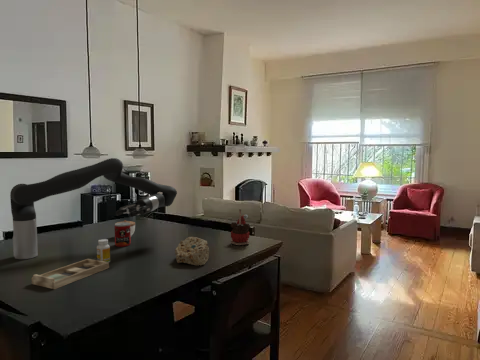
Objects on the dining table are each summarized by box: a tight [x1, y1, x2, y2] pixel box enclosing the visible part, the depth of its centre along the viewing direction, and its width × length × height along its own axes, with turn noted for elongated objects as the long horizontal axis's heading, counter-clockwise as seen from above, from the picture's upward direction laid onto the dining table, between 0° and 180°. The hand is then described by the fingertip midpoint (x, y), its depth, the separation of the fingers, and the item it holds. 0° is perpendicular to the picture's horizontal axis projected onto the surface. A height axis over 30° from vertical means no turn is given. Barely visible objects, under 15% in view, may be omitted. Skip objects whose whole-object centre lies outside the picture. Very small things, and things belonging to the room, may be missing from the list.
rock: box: [174, 236, 210, 266], centre depth 169 cm, size 21×14×10 cm
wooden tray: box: [31, 258, 110, 290], centre depth 147 cm, size 12×26×4 cm, turn 155°
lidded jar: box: [114, 219, 136, 237], centre depth 210 cm, size 11×11×9 cm
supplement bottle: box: [96, 238, 111, 263], centre depth 164 cm, size 5×5×10 cm
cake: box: [230, 208, 251, 246], centre depth 195 cm, size 11×9×18 cm
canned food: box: [114, 221, 132, 248], centre depth 193 cm, size 8×8×11 cm
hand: (123, 214), depth 172 cm, fingers open, 8 cm apart
